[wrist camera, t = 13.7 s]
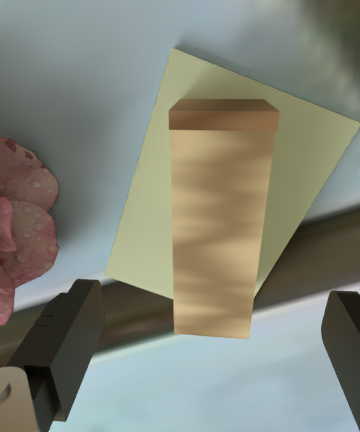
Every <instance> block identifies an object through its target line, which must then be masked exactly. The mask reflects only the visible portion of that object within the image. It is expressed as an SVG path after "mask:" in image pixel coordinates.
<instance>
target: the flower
mask: <svg viewBox="0 0 360 432" xmlns="http://www.w3.org/2000/svg"><path fill="white" fill-rule="evenodd" d="M58 193H59V187H58V182H57V180H56V179H55V177H54V175H53V174H52V173H51V172H49V171H48V169H47V168H46V167H45V166H44V164H43V163H42V162H41V161H40V160H39V158H38V157H37V155H36V154H35V152H33V151H30V150H28V149H25V148H22V147H21V146H20V145H19V144H17V143H16V142H14V141H13V140H11V139H9V138H5V137H0V325H5V324H6V322H7V320H8V319H9V317H10V315H11V314H12V312H13V310H14V294H15V288H17V287H18V286H20V285H22V284H24V283H27V282H29V281H31V280H33V279H35V278H37V277H40V276H41V275H43V274H44V273H45V272H47V271H48V270H49V269H50V268H51V267H52V266H53V265H54V262H55V259H56V256H57V253H58V250H59V247H58V244H57V240H56V231H55V225H54V221H53V218H52V217H51V216H50V215H49V214H48V213H47V212H48V211H49V210H50V208H51V207H52V206H53V204H54V203H55V200H56V198H57V195H58Z"/></svg>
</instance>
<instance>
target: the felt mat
mask: <svg viewBox="0 0 360 432" xmlns="http://www.w3.org/2000/svg"><path fill="white" fill-rule="evenodd" d="M179 99H264V100H266V101H267V102H268V103H270V104H271V105H272V106H273V107H275V108H276V109H277V110H279V111H280V114H279V122H278V129H277V131H276V133H275V141H274V149H273V156H272V164H271V172H270V179H269V187H268V195H267V202H266V210H265V217H264V225H263V233H262V240H261V248H260V256H259V263H258V271H257V279H256V286H255V294H254V297H255V295H256V294H257V292H258V290H259V289H260V287H261V286H262V284H263V282H264V281H265V279H266V278H267V276H268V274H269V273H270V271H271V269H272V268H273V266H274V265H275V263H276V261H277V260H278V258H279V257H280V255H281V253H282V252H283V250H284V248H285V247H286V245H287V244H288V242H289V240H290V239H291V237H292V236H293V234H294V232H295V231H296V229H297V227H298V226H299V224H300V223H301V221H302V219H303V218H304V216H305V215H306V213H307V211H308V210H309V208H310V206H311V205H312V203H313V202H314V200H315V198H316V197H317V195H318V194H319V192H320V190H321V189H322V187H323V185H324V184H325V182H326V181H327V179H328V177H329V176H330V174H331V173H332V171H333V169H334V168H335V166H336V164H337V163H338V161H339V160H340V158H341V156H342V155H343V153H344V152H345V150H346V148H347V147H348V145H349V143H350V142H351V140H352V139H353V137H354V135H355V134H356V132H357V131H358V129H359V127H360V122H357V121H355V120H352V119H350V118H347V117H345V116H342V115H340V114H337V113H335V112H332V111H330V110H327V109H325V108H322V107H320V106H317V105H315V104H312V103H310V102H307V101H305V100H302V99H300V98H297V97H295V96H292V95H290V94H287V93H285V92H282V91H280V90H277V89H275V88H272V87H270V86H267V85H265V84H262V83H260V82H257V81H255V80H252V79H250V78H247V77H245V76H242V75H240V74H237V73H235V72H232V71H230V70H227V69H225V68H222V67H220V66H217V65H215V64H212V63H210V62H207V61H205V60H202V59H200V58H197V57H195V56H192V55H190V54H187V53H185V52H182V51H180V50H177V49H175V48H171V51H170V54H169V58H168V61H167V65H166V68H165V71H164V75H163V78H162V81H161V85H160V88H159V92H158V95H157V98H156V102H155V105H154V108H153V112H152V115H151V119H150V122H149V125H148V129H147V132H146V135H145V139H144V142H143V146H142V149H141V152H140V156H139V159H138V162H137V166H136V169H135V173H134V176H133V179H132V183H131V186H130V189H129V193H128V196H127V200H126V203H125V206H124V210H123V213H122V216H121V220H120V223H119V227H118V230H117V233H116V237H115V240H114V243H113V247H112V250H111V254H110V257H109V260H108V264H107V267H106V270H105V274H104V275H105V276H108V277H111V278H113V279H116V280H119V281H122V282H125V283H128V284H131V285H134V286H136V287H139V288H142V289H145V290H148V291H151V292H154V293H157V294H160V295H162V296H165V297H168V298H171V299H174V296H173V246H172V196H171V145H170V130H169V112H168V111H169V110H170V109H171V107H172V106H173V105H174V104H175V103H176V102H177V101H178V100H179Z"/></svg>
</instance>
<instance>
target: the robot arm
mask: <svg viewBox="0 0 360 432" xmlns="http://www.w3.org/2000/svg"><path fill="white" fill-rule="evenodd" d="M104 321H105V310H104V304H103V298H102V291H101V285H100V282H99V280H90V279H77V280H76V281H75V282H74V283H73V285H72V287H71V288H70V290H69V292H68V293H60V294H59V295H57V296H56V297H55V298H54V299H52V300H51V301H50V302H49V303H48V304H47V305H46V307H45V308H44V310H43V311H42V313H41V314H40V317H38V319H37V320H36V322H35V323H34V326H33V327H32V328H31V329H30V331H29V332H28V334H27V335H26V337H25V338H24V340H23V341H22V342H21V344H20V345H19V347H18V348H17V350H16V351H15V353H14V354H13V356H12V357H11V359H10V360H9V362H8V363H7V365H6V366H5V367H4V368H0V432H48V431H49V429H50V426H51V424H52V422H53V421H63V422H66V420H67V418H68V415H69V413H70V410H71V408H72V405H73V403H74V400H75V398H76V395H77V393H78V390H79V388H80V385H81V383H82V380H83V378H84V375H85V373H86V370H87V368H88V365H89V363H90V360H91V358H92V355H93V353H94V350H95V348H96V345H97V343H98V340H99V338H100V335H101V333H102V330H103V327H104ZM321 334H322V340H323V343H324V346H325V348H326V351H327V353H328V356H329V358H330V360H331V363H332V365H333V368H334V370H335V372H336V375H337V377H338V380H339V382H340V385H341V387H342V389H343V392H344V394H345V397H346V399H347V401H348V404H349V406H350V409H351V411H352V414H353V416H354V418H355V421H356V423H357V426H358V428H359V431H360V295H359V293H357V292H353V291H331V292H330V294H329V297H328V301H327V305H326V309H325V313H324V317H323V321H322V325H321Z"/></svg>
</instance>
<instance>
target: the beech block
mask: <svg viewBox="0 0 360 432" xmlns="http://www.w3.org/2000/svg"><path fill="white" fill-rule="evenodd" d="M168 112H169V130H170V145H171V196H172V246H173V296H174V334H187V335H199V336H212V337H225V338H238V339H249V332H250V324H251V317H252V309H253V302H254V294H255V286H256V279H257V271H258V263H259V256H260V248H261V240H262V233H263V225H264V217H265V210H266V202H267V195H268V187H269V179H270V172H271V164H272V156H273V149H274V141H275V133H276V131H277V129H278V122H279V114H280V111H279V110H277V109H276V108H275V107H273V106H272V105H271V104H270V103H268V102H267V101H266V100H264V99H179V100H178V101H177V102H176V103H175V104H174V105H173V106H172V107H171V109H170V110H169V111H168Z"/></svg>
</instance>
